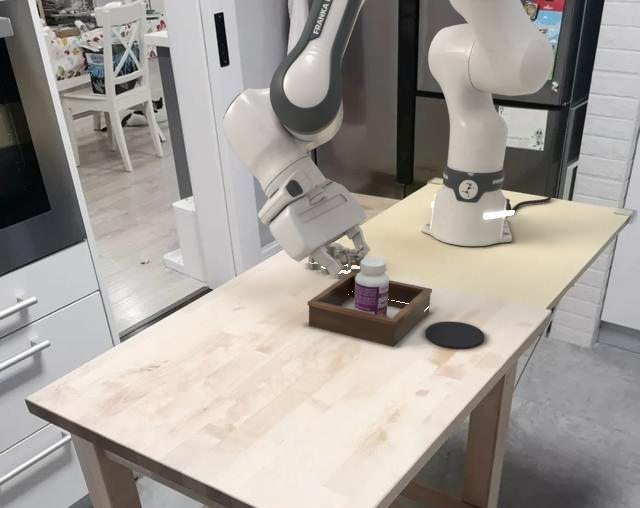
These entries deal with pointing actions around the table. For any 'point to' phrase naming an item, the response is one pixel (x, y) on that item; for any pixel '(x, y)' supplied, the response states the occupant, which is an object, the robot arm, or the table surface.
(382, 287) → the pill bottle
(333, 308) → the wooden square frame
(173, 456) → the table surface
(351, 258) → the egg carton
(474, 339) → the coaster
